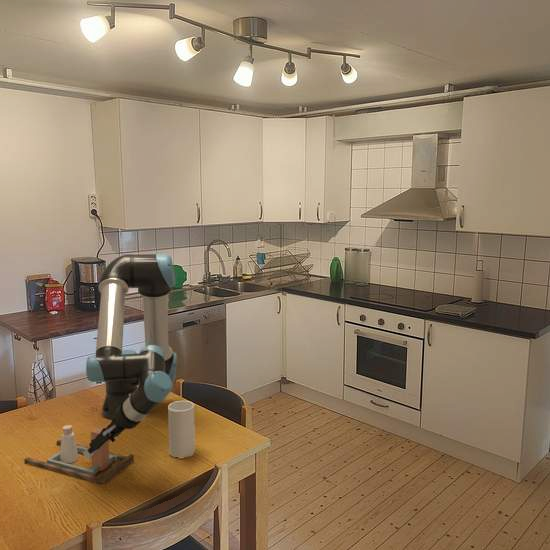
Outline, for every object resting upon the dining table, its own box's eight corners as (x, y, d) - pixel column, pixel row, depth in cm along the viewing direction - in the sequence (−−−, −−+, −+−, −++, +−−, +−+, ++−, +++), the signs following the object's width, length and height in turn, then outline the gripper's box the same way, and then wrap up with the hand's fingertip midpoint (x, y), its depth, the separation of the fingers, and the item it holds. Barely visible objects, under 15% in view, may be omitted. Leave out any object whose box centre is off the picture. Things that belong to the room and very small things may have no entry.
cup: (170, 446, 169) (169, 400, 167) (195, 445, 170) (194, 400, 167) (167, 459, 161) (166, 411, 159) (194, 458, 162) (193, 410, 159)
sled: (117, 460, 159) (115, 424, 158) (93, 477, 150) (91, 438, 148) (72, 448, 166) (70, 414, 165) (46, 464, 157) (44, 427, 155)
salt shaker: (61, 465, 157) (59, 432, 155) (59, 457, 161) (56, 425, 160) (79, 461, 159) (77, 428, 158) (77, 453, 164) (75, 421, 162)
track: (134, 461, 159) (133, 454, 159) (103, 484, 146) (102, 477, 146) (59, 443, 171) (59, 436, 170) (24, 462, 158) (24, 455, 158)
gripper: (143, 391, 155) (102, 431, 164) (105, 411, 140) (63, 455, 149) (158, 410, 154) (116, 450, 163) (121, 433, 139) (78, 476, 148)
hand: (91, 452), depth 156 cm, fingers closed on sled, 3 cm apart
